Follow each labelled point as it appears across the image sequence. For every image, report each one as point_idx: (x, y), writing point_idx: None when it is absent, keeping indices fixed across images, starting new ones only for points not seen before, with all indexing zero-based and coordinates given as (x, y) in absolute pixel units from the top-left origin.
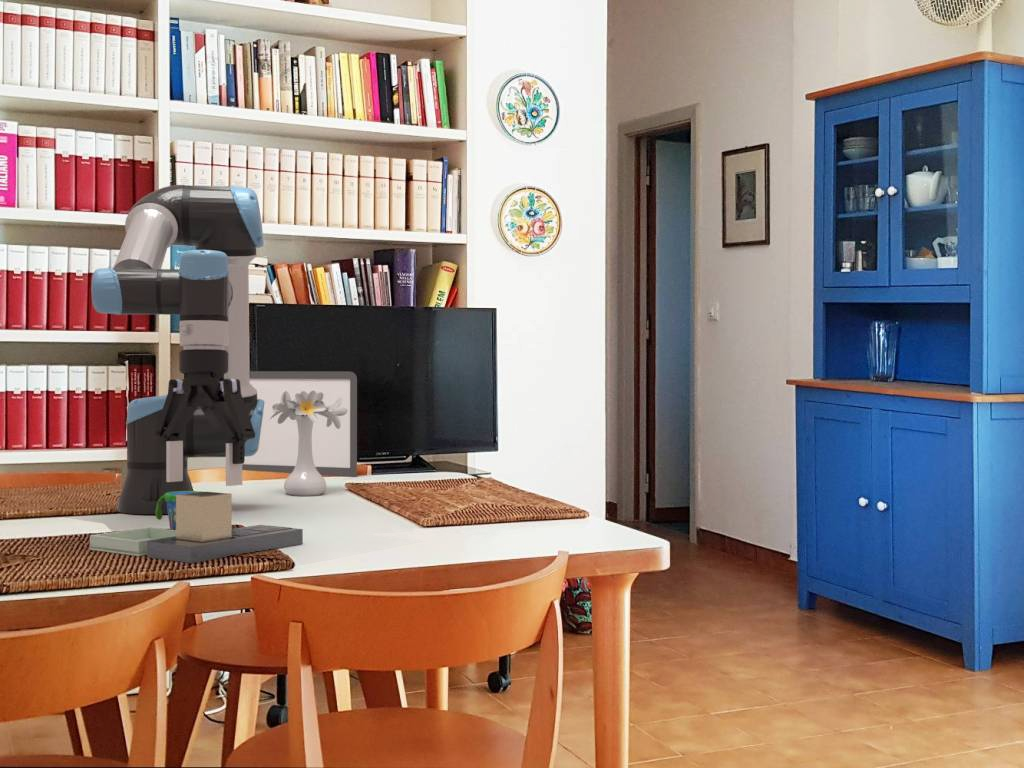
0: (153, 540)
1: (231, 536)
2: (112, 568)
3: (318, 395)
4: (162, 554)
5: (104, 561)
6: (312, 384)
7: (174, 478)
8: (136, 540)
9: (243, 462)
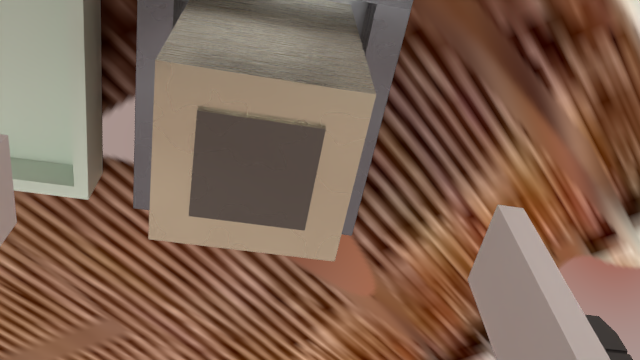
0: (138, 189)
1: (354, 20)
2: (212, 326)
3: None
4: None
5: (99, 269)
6: None
7: (4, 202)
8: (61, 186)
9: (602, 325)
